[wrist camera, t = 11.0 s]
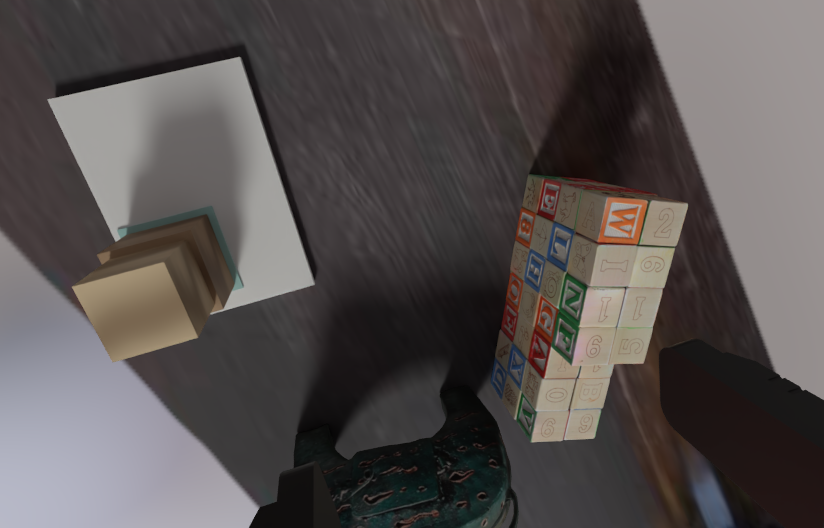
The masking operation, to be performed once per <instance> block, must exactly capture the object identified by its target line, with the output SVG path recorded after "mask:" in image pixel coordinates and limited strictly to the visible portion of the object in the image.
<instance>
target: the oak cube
mask: <svg viewBox="0 0 824 528" xmlns="http://www.w3.org/2000/svg"><path fill="white" fill-rule="evenodd" d="M72 288H73V290H74V292H75V294H76V295H77V297H78V299H79V301H80V303H81V305H82V306H83V308H84V310H85V312H86V314H87V316H88V317H89V319H90V321H91V323H92V325H93V327H94V329H95V330H96V332H97V334H98V336H99V338H100V340H101V341H102V343H103V345H104V347H105V349H106V351H107V352H108V354H109V356H110V358H111V360H112V362H116V361H119V360H123V359H126V358H130V357H133V356H136V355H140V354H143V353H147V352H150V351H154V350H157V349H161V348H164V347H167V346H171V345H174V344H178V343H181V342H185V341H188V340H191V339H195V338H198V337H199V335H200V333H201V331H202V329H203V327H204V325H205V323H206V321H207V319H208V317H209V315H210V313H211V311H212V309H213V307H214V305H215V304H214V302H213V299H212V297H211V294H210V292H209V290H208V287H207V285H206V283H205V280H204V278H203V276H202V273H201V271H200V269H199V266H198V264H197V262H196V259H195V257H194V254H193V252H192V250H191V247H190V245H189V243H188V240H187V239H184V240H181V241H177V242H173V243H169V244H165V245H162V246H158V247H154V248H150V249H147V250H143V251H139V252H135V253H132V254H128V255H124V256H120V257H117V258H113V259H109V260H108V261H107V262H105V263H104V264H103V265H101V266H100V267H98V268H97V269H96V270H94V271H93V272H92V273H90V274H89V275H88V276H86V277H85V278H83V279H82V280H81V281H79V282H78V283H77V284H75V285H74V286H72Z"/></svg>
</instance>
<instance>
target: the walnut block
mask: <svg viewBox="0 0 824 528" xmlns="http://www.w3.org/2000/svg"><path fill="white" fill-rule="evenodd" d="M184 239H187V240H188V243H189V245H190V247H191V250H192V252H193V254H194V257H195V259H196V262H197V264H198V266H199V269H200V271H201V273H202V276H203V278H204V280H205V283H206V285H207V287H208V290H209V292H210V294H211V297H212V299H213V302H214V304H215V305H214V307H213V309H212V311H211V313H212V312H215V311H219V310H222V309H224V307H225V305H226V302H227V300H228V298H229V296H230V294H231V292H232V289H233V287H234V285H235V283H234V281H233V278H232V276H231V273H230V271H229V268H228V266H227V263H226V261H225V258H224V256H223V253H222V251H221V248H220V246H219V243H218V241H217V238H216V235H215V233H214V230H213V228H212V225H211V223H210V220H209V218H208V215H207V214H205V215H201V216H197V217H193V218H190V219H186V220H182V221H178V222H174V223H170V224H166V225H163V226H159V227H155V228H151V229H147V230H143V231H139V232H136V233H132V234H128V235H125V236H124V237H122V238H121V239H119V240H118V241H116V242H115V243H113V244H112V245H110V246H109V247H107V248H106V249H104V250H103V251H101V252H100V253H98V254H97V255H98V257H99V259H100V261H101V263H102V265H103V264H104V263H105V262H107V261H108V260H109V259H113V258H117V257H120V256H124V255H128V254H132V253H135V252H139V251H143V250H147V249H150V248H154V247H158V246H162V245H165V244H169V243H173V242H177V241H181V240H184Z"/></svg>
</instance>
